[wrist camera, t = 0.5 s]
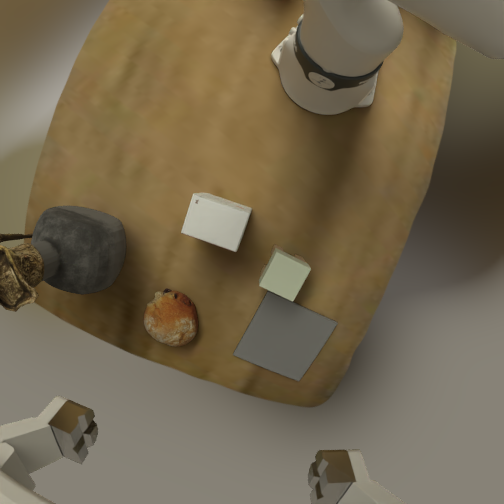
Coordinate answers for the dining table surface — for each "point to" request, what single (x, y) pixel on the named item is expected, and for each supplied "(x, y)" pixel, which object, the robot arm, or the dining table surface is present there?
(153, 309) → the bread roll
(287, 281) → the stool
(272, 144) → the dining table surface
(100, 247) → the grey tall rounded piece
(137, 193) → the dining table surface
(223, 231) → the small box
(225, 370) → the dining table surface
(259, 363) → the mat
